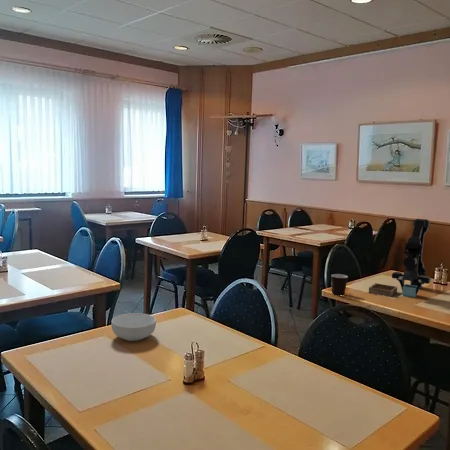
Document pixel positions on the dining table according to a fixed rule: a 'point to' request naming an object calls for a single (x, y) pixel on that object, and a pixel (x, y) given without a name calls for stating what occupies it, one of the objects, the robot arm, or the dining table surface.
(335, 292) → the dark brown cup
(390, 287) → the walnut crate
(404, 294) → the small crate
